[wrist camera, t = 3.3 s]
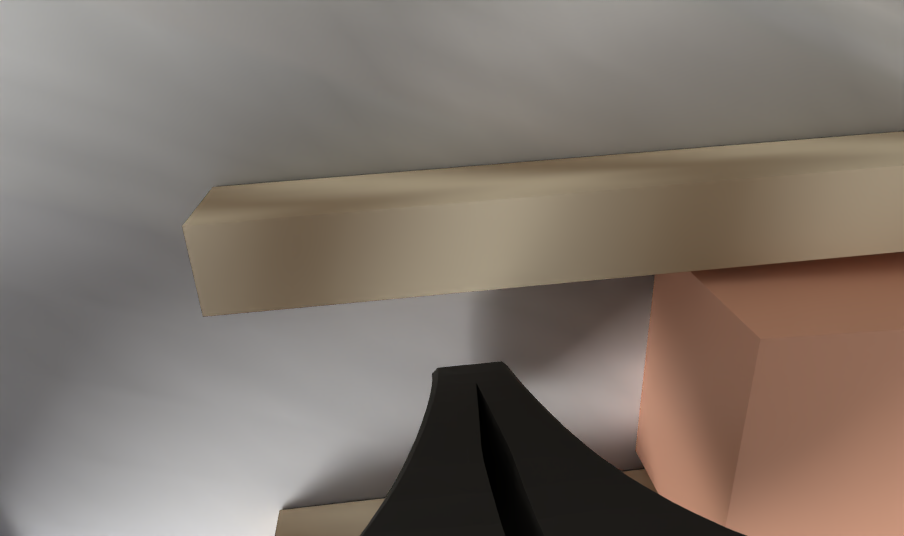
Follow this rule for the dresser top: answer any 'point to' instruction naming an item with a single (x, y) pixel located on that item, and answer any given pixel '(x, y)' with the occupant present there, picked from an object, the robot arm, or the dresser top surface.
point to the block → (779, 396)
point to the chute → (538, 232)
